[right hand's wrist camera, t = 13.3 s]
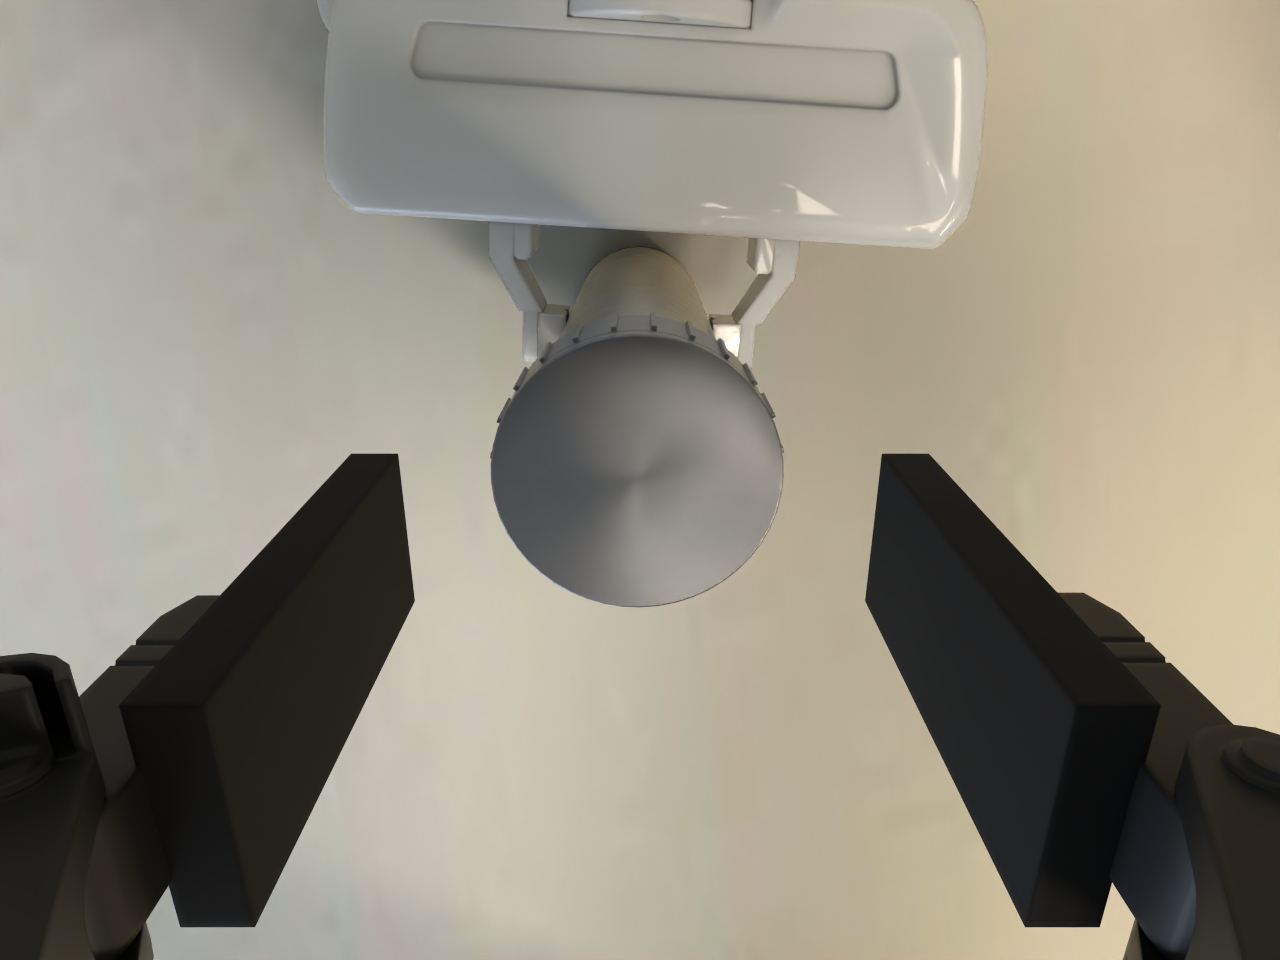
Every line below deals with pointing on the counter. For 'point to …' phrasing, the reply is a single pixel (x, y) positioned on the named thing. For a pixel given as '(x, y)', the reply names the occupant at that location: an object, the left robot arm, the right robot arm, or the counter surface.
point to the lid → (637, 462)
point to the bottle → (638, 290)
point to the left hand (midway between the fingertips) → (638, 365)
